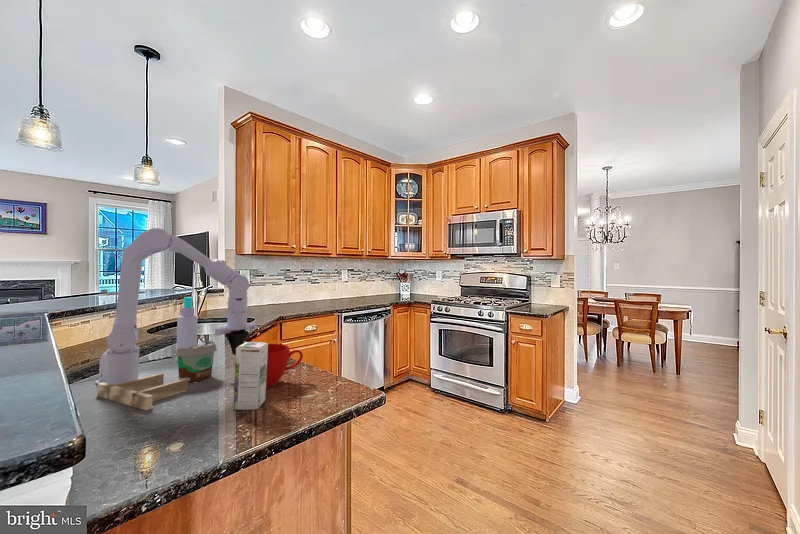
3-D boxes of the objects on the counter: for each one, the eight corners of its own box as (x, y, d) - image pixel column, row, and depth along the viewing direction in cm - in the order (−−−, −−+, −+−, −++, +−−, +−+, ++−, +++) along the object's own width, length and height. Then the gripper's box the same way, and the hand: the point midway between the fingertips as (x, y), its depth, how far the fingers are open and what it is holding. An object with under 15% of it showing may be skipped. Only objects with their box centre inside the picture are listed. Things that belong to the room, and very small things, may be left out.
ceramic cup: (306, 386, 99) (307, 350, 99) (239, 394, 91) (241, 355, 91) (298, 373, 110) (298, 341, 110) (238, 380, 103) (239, 345, 103)
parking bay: (97, 395, 88) (97, 383, 88) (150, 381, 99) (151, 371, 99) (146, 410, 80) (147, 396, 80) (199, 393, 91) (199, 381, 91)
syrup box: (241, 401, 86) (243, 341, 87) (266, 401, 87) (268, 341, 87) (232, 410, 81) (234, 346, 81) (259, 410, 81) (261, 346, 81)
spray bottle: (175, 363, 119) (177, 298, 120) (176, 359, 125) (178, 296, 125) (196, 361, 122) (198, 297, 123) (196, 357, 127) (198, 296, 128)
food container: (194, 387, 96) (195, 350, 96) (174, 385, 97) (175, 348, 97) (225, 374, 108) (226, 341, 108) (207, 372, 109) (208, 340, 109)
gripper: (226, 315, 106) (225, 360, 105) (264, 310, 119) (263, 351, 119) (210, 313, 108) (209, 357, 108) (248, 309, 122) (247, 348, 121)
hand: (236, 354), depth 114 cm, fingers closed
